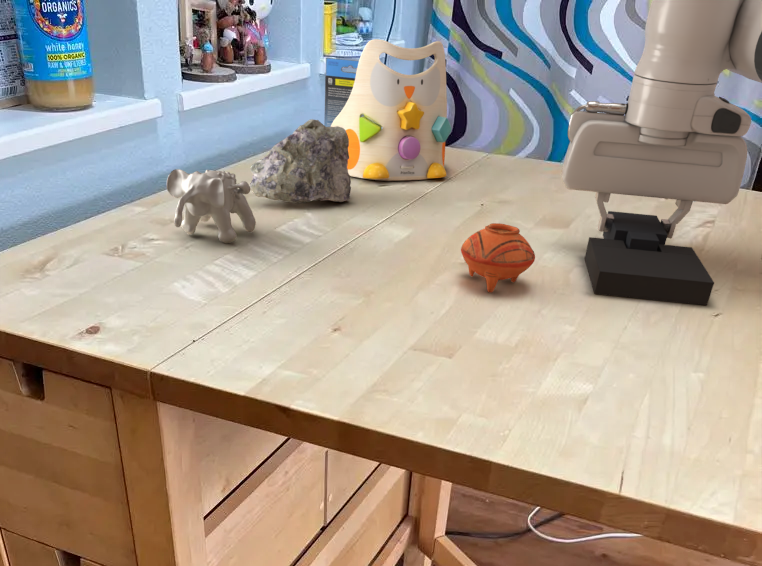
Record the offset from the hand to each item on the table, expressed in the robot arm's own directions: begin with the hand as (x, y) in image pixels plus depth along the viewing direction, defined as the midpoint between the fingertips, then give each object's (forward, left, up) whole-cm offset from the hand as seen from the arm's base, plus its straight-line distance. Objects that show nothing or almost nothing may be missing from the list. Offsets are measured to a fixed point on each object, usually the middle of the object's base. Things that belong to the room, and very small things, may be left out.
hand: (634, 233), depth 99 cm
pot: (+17, +16, -2) cm, 24 cm away
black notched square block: (0, +10, -2) cm, 11 cm away
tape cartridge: (+42, -49, -2) cm, 64 cm away
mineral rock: (+43, -9, -2) cm, 44 cm away
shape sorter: (+32, -28, -2) cm, 42 cm away
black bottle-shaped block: (0, +1, -2) cm, 2 cm away
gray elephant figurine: (+50, +11, -2) cm, 51 cm away
